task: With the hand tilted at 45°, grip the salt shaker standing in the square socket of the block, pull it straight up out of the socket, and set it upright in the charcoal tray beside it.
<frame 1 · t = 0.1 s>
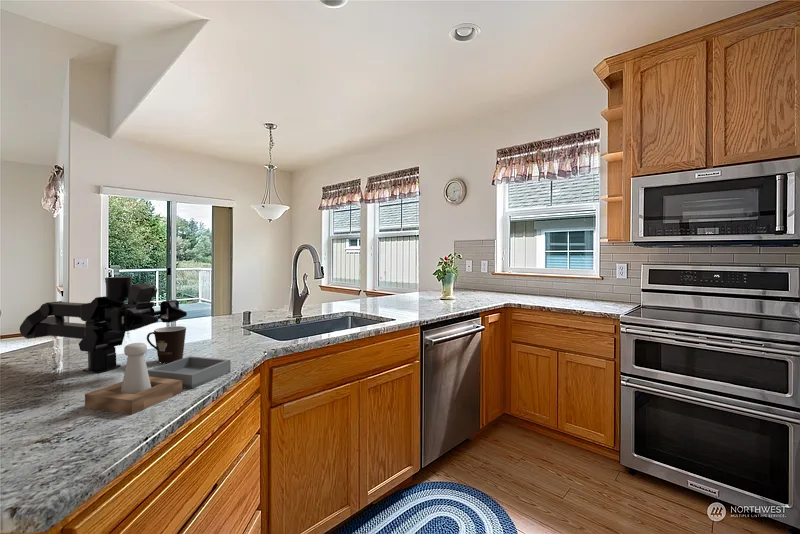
hand: (172, 316, 102), 17 cm above the countertop, tool horizontal, fingers open, 9 cm apart
salt shaker: (136, 400, 87), resting in socket block
coffee mug: (168, 360, 119), on the countertop
tray: (190, 377, 102), on the countertop
socket block: (136, 399, 87), on the countertop
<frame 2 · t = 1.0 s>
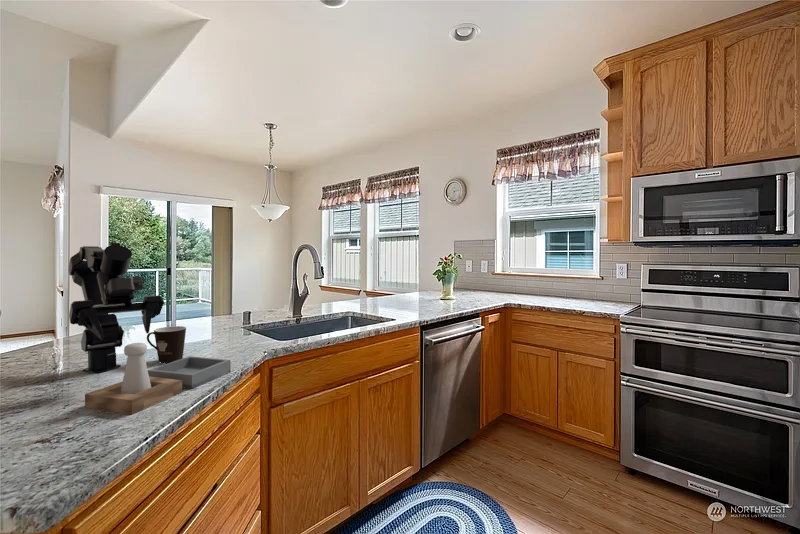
hand: (126, 335, 92), 14 cm above the countertop, tool tilted 45°, fingers open, 9 cm apart
nothing on the countertop moved.
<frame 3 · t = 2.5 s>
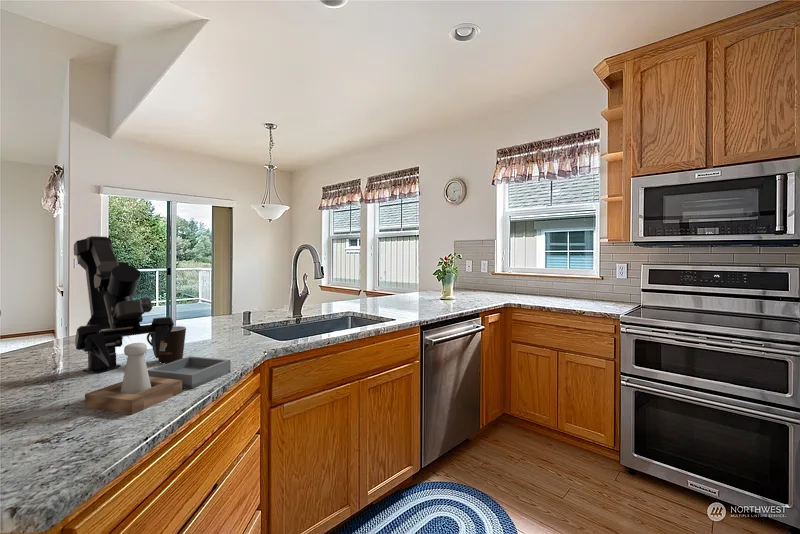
hand: (134, 361, 87), 9 cm above the countertop, tool tilted 45°, fingers open, 9 cm apart
nothing on the countertop moved.
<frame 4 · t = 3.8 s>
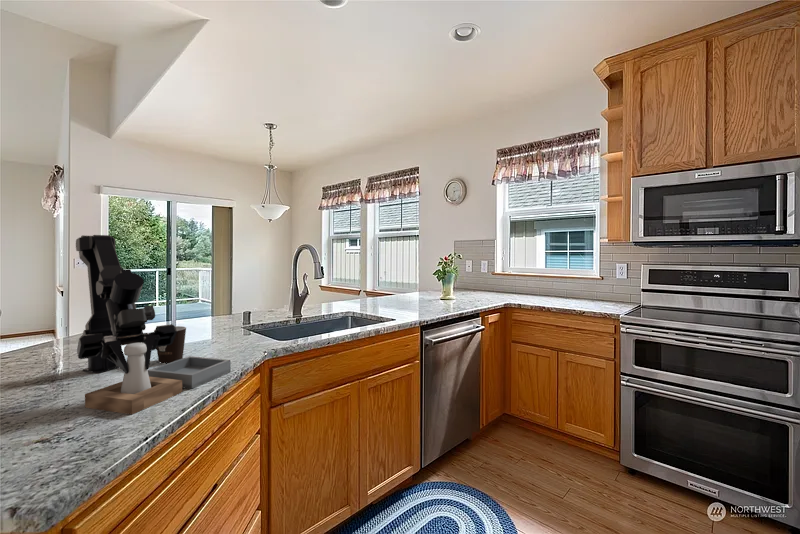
hand: (137, 370, 86), 7 cm above the countertop, tool tilted 45°, fingers closed on salt shaker, 4 cm apart
salt shaker: (136, 400, 87), resting in socket block, touching gripper
everything else where it was.
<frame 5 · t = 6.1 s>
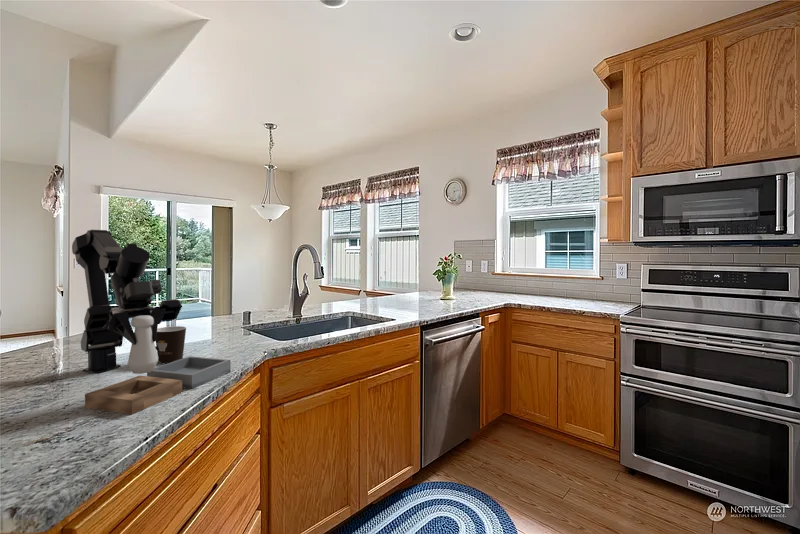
hand: (145, 342, 87), 13 cm above the countertop, tool tilted 45°, fingers closed on salt shaker, 4 cm apart
salt shaker: (143, 371, 88), point 6 cm above the countertop, touching gripper
everything else where it was.
when the fingers open (9 cm above the countertop, at t = 8.3 s): salt shaker drops 1 cm, resting on tray.
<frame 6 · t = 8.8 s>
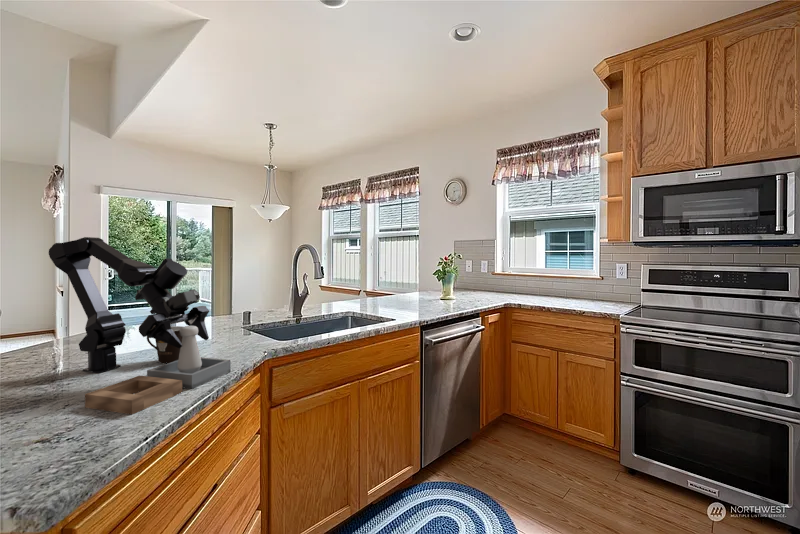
hand: (194, 343, 102), 10 cm above the countertop, tool tilted 45°, fingers open, 9 cm apart
salt shaker: (190, 374, 102), point 1 cm above the countertop, touching tray
everything else where it was.
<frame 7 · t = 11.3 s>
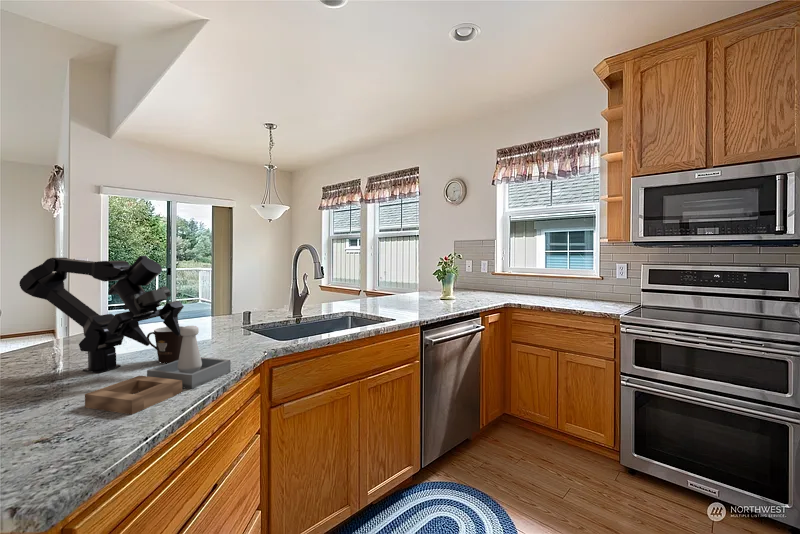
hand: (164, 339, 104), 10 cm above the countertop, tool tilted 40°, fingers open, 9 cm apart
nothing on the countertop moved.
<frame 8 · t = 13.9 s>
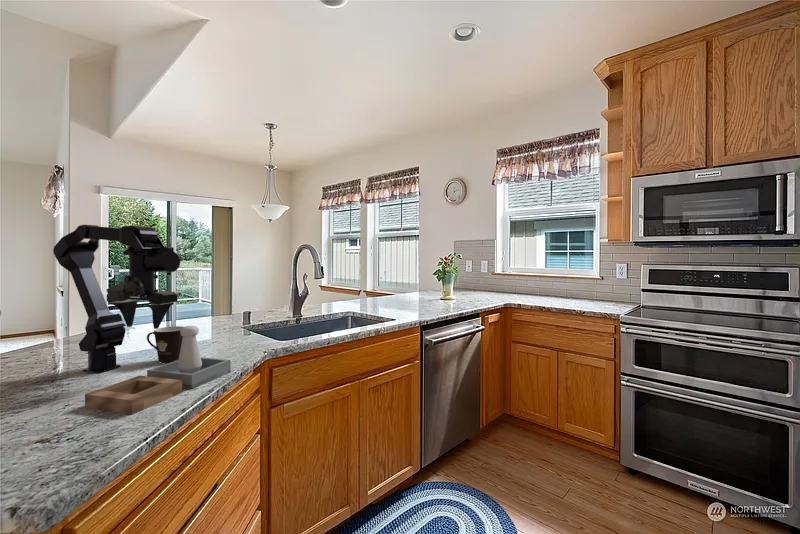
hand: (142, 327, 105), 13 cm above the countertop, tool pointing down, fingers open, 9 cm apart
nothing on the countertop moved.
at the end: salt shaker inside the target area on the tray (0.2 cm from its centre), point 0.8 cm above the tray's base; salt shaker tilted 0°; the gripper is holding nothing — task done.
